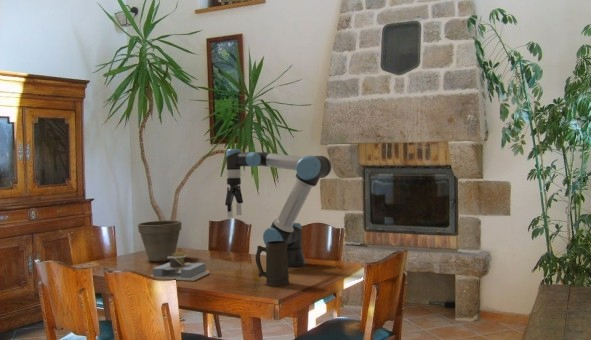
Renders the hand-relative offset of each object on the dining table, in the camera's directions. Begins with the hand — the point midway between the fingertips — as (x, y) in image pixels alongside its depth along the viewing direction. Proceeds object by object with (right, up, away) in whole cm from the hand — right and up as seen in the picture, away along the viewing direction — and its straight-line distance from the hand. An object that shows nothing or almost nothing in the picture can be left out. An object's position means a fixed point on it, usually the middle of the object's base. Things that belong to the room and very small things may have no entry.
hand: (234, 216), depth 341 cm
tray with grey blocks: (-25, -28, -27) cm, 46 cm away
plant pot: (-46, -27, +25) cm, 59 cm away
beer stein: (+23, -28, -51) cm, 62 cm away
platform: (-25, -23, -28) cm, 44 cm away
